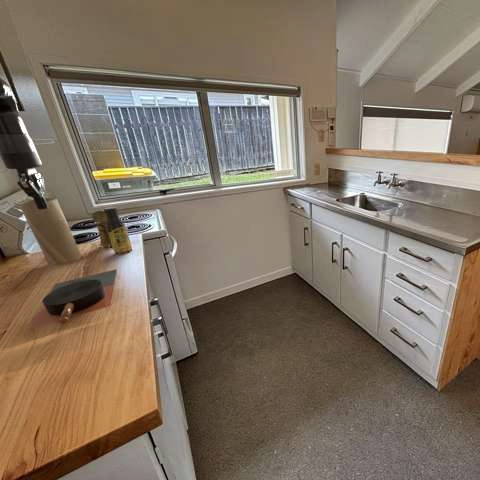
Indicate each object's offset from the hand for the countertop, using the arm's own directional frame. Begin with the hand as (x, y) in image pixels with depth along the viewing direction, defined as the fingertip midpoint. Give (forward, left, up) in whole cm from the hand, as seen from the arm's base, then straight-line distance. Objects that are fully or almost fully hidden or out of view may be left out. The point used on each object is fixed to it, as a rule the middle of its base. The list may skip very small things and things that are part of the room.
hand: (43, 208), depth 81 cm
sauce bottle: (+14, +15, -26) cm, 33 cm away
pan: (+4, -26, -25) cm, 36 cm away
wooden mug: (+9, +29, -26) cm, 40 cm away
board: (+4, -16, -25) cm, 30 cm away
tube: (-6, +21, -26) cm, 34 cm away
